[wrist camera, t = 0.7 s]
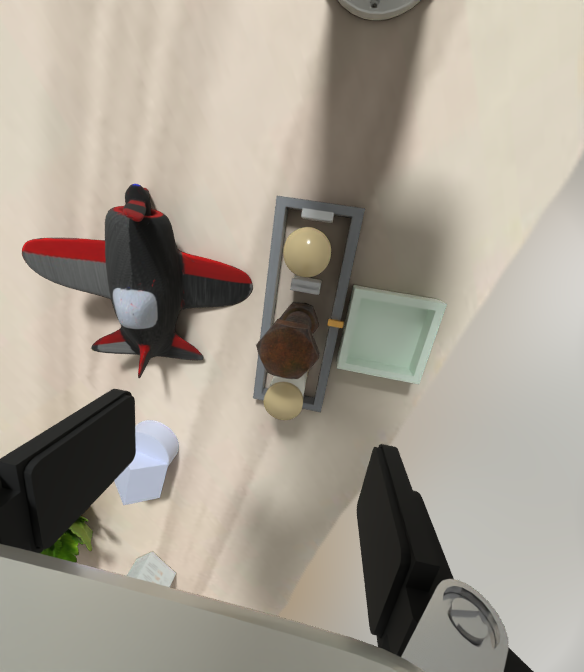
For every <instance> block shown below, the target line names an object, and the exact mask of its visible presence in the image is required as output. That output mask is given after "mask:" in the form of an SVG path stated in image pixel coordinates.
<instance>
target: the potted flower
mask: <svg viewBox="0 0 584 672" xmlns="http://www.w3.org/2000/svg"><path fill="white" fill-rule="evenodd" d="M85 521H86V522H87V521H88V520H87V519H86V518H84V517H81V516H80V517H79V518H78V519H77V520H76V521H75V522H74V523H73V525H72V526H71V527H70V528H69V529H71V530H69V529H68V530H67V531H66V532H65V533H64V534H63V535H62V536H61V537H60V538H59V539H58V540H57V541H56V542H55V543H54V544H53V545H52V546H51V547H49V548H47V549H44V550H43V551H42V552H41V553H40V554H43V555H47V556H51V557H55V558H59V559H63V560H67V561H71V562H75V563H76V562H77V558H76V556H74V555H78V554H79V552H78V547H77V546H78V542H79V543H81V544H86V547H87V548H88V550H89V551H92V546H91V538H92V533H93V531H92V530H91V529H90V528H89V527H88V526H87V525H86V524H85V523H84V522H85ZM76 534H77V535H76ZM79 537H81V539H80V538H79Z"/></svg>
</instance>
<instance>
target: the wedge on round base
mask: <svg viewBox="0 0 584 672" xmlns="http://www.w3.org/2000/svg"><path fill="white" fill-rule="evenodd" d="M135 437H136V454H135V457H134V459H133V461H132V462H131V464H130V465H129V466H128V467H127V468H126V469H125V470H124V471H123V472H122V473H121V474H120V475H119V476H118V477H117V478H116V479H115V480H114V481H115V484H116V487H117V489H118V492H119V494H120V497H121V500H122V502H123V505H127V504H132V503H137V502H142V501H146V500H151V499H156V498H160V495H161V491H162V487H163V483H164V479H165V475H166V471H167V468H168V466H169V464H170V463H171V462H172V460H173V459H174V457H175V456H176V455H177V453H178V450H179V442H178V439H177V437H176V435H175V434H174V432H173V431H172V430H171V429H170V428H169V427H167V426H166V425H164V424H162V423H160V422H157V421H153V420H146V421H142V422H140V423H138V424H137V425H136V426H135Z"/></svg>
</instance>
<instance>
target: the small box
mask: <svg viewBox="0 0 584 672" xmlns="http://www.w3.org/2000/svg"><path fill="white" fill-rule="evenodd" d="M175 575H176V572H175V571H174V570H172V569H171V568H170V567H169V566H168V565H167V564H166V563H165V562H164V561H162V560H161V559H160V558H159V557H158V556H157V555H156V554H155V553H154V552H150V553H148V554H146V555H144V556H142V557H140V558H138V559H136V561H135V563H134V564H133V566H132V568H131V569H130V571H129V573H128V574H127V576H129V577H132V578H136V579H140V580H144V581H148V582H152V583H155V584H159V585H163V586H167V587H170V586H171V583H172V581H173V579H174V577H175Z"/></svg>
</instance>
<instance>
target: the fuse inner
mask: <svg viewBox="0 0 584 672" xmlns="http://www.w3.org/2000/svg"><path fill="white" fill-rule="evenodd" d="M283 256H284V260H285V263H286V265H287V267H288V268H289V269H290V270H291V271H292V272H293V273H294V274H296V275H298V276H301V277H313V276H316V275H318V274H320V273H321V272H322V271H323V270H324V269H325V268H326V267H327V265H328V263H329V261H330V258H331V245H330V242H329V240H328V239H327V237H326V236H325V235H324V234H323V233H322V232H321V231H319V230H318V229H315V228H311V227H304V228H300V229H297V230H296V231H294V232H293V233H292V234H290V236H289V237H288V238H287V240H286V242H285V245H284V249H283Z"/></svg>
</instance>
